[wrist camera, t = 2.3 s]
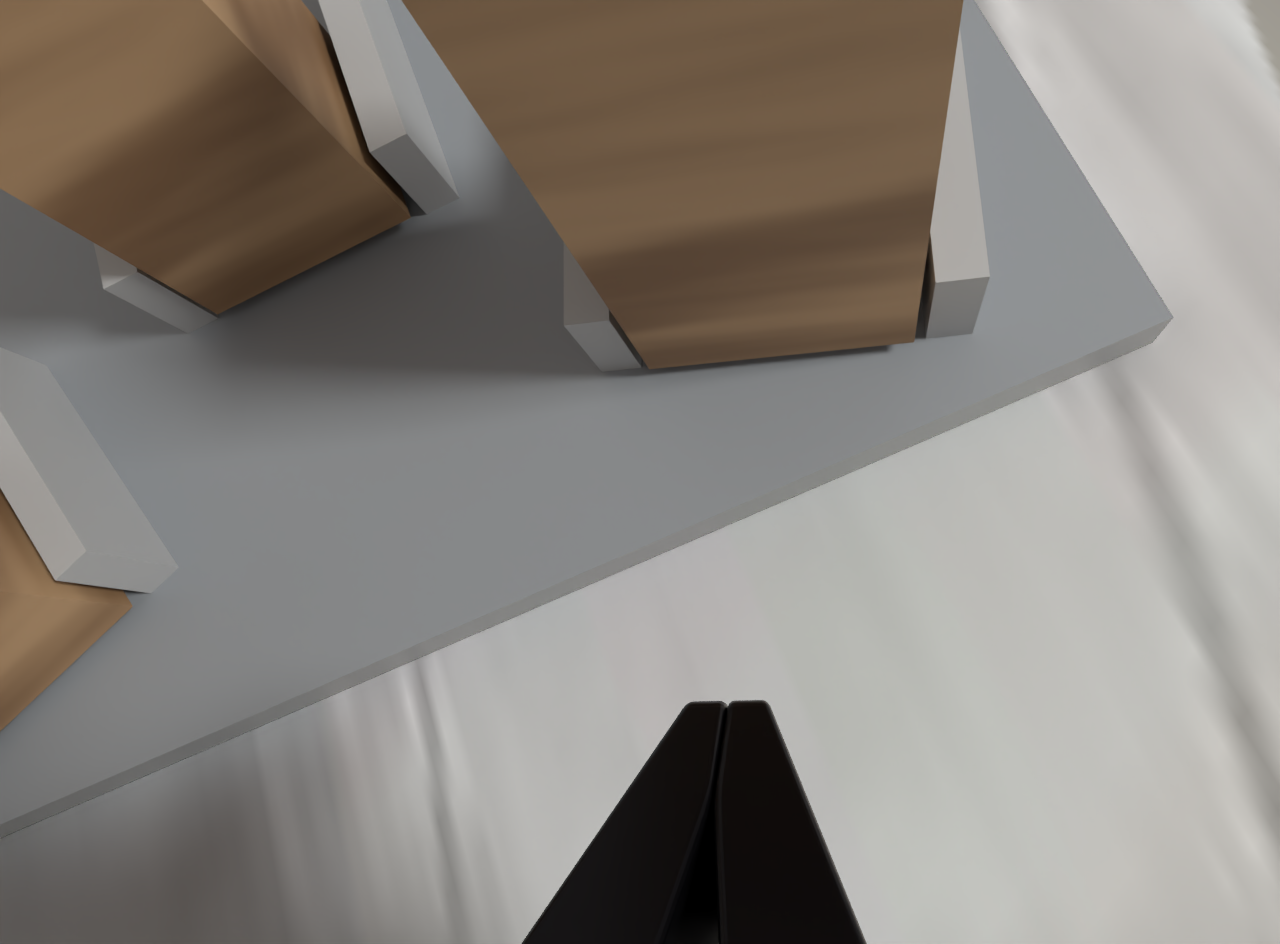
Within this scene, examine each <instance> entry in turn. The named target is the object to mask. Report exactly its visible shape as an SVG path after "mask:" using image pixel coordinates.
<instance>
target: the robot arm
mask: <svg viewBox="0 0 1280 944" xmlns="http://www.w3.org/2000/svg"><path fill="white" fill-rule="evenodd" d="M522 944H866V941H865V939H864V936H863V934H862V931H861V929H860V926H859V924H858V921H857V919H856V916H855V914H854V912H853V909H852V907H851V904H850V902H849V899H848V897H847V894H846V892H845V889H844V887H843V884H842V882H841V880H840V877H839V875H838V872H837V870H836V867H835V865H834V862H833V860H832V857H831V855H830V852H829V850H828V848H827V845H826V843H825V840H824V838H823V835H822V833H821V830H820V828H819V825H818V823H817V820H816V818H815V816H814V813H813V811H812V808H811V806H810V803H809V801H808V798H807V796H806V793H805V791H804V789H803V786H802V784H801V781H800V779H799V776H798V774H797V771H796V769H795V766H794V764H793V761H792V759H791V757H790V754H789V752H788V749H787V747H786V744H785V742H784V739H783V737H782V734H781V732H780V729H779V727H778V725H777V722H776V720H775V717H774V715H773V712H772V710H771V707H770V705H769V704H768V703H767V702H766V701H763V700H752V701H732V702H731V703H730V704H729V706H727V704H726V703H724V702H722V701H700V702H690V703H688V704H687V705H686V706H685V707H684V708H683V710H682V711H681V712H680V714H679V715H678V717H677V718H676V720H675V721H674V723H673V724H672V726H671V727H670V728H669V730H668V731H667V733H666V734H665V736H664V737H663V739H662V740H661V742H660V743H659V744H658V746H657V747H656V749H655V750H654V752H653V753H652V755H651V756H650V758H649V759H648V760H647V762H646V763H645V765H644V766H643V768H642V769H641V771H640V772H639V774H638V775H637V776H636V778H635V779H634V781H633V782H632V784H631V785H630V787H629V788H628V790H627V791H626V792H625V794H624V795H623V797H622V798H621V800H620V801H619V803H618V804H617V806H616V807H615V808H614V810H613V811H612V813H611V814H610V816H609V817H608V819H607V820H606V822H605V823H604V824H603V826H602V827H601V829H600V830H599V832H598V833H597V835H596V836H595V838H594V839H593V840H592V842H591V843H590V845H589V846H588V848H587V849H586V851H585V852H584V854H583V855H582V856H581V858H580V859H579V861H578V862H577V864H576V865H575V867H574V868H573V870H572V871H571V872H570V874H569V875H568V877H567V878H566V880H565V881H564V883H563V884H562V886H561V887H560V888H559V890H558V891H557V893H556V894H555V896H554V897H553V899H552V900H551V902H550V903H549V904H548V906H547V907H546V909H545V910H544V912H543V913H542V915H541V916H540V918H539V919H538V920H537V922H536V923H535V925H534V926H533V928H532V929H531V931H530V932H529V934H528V935H527V936H526V938H525V939H524V941H523V942H522Z"/></svg>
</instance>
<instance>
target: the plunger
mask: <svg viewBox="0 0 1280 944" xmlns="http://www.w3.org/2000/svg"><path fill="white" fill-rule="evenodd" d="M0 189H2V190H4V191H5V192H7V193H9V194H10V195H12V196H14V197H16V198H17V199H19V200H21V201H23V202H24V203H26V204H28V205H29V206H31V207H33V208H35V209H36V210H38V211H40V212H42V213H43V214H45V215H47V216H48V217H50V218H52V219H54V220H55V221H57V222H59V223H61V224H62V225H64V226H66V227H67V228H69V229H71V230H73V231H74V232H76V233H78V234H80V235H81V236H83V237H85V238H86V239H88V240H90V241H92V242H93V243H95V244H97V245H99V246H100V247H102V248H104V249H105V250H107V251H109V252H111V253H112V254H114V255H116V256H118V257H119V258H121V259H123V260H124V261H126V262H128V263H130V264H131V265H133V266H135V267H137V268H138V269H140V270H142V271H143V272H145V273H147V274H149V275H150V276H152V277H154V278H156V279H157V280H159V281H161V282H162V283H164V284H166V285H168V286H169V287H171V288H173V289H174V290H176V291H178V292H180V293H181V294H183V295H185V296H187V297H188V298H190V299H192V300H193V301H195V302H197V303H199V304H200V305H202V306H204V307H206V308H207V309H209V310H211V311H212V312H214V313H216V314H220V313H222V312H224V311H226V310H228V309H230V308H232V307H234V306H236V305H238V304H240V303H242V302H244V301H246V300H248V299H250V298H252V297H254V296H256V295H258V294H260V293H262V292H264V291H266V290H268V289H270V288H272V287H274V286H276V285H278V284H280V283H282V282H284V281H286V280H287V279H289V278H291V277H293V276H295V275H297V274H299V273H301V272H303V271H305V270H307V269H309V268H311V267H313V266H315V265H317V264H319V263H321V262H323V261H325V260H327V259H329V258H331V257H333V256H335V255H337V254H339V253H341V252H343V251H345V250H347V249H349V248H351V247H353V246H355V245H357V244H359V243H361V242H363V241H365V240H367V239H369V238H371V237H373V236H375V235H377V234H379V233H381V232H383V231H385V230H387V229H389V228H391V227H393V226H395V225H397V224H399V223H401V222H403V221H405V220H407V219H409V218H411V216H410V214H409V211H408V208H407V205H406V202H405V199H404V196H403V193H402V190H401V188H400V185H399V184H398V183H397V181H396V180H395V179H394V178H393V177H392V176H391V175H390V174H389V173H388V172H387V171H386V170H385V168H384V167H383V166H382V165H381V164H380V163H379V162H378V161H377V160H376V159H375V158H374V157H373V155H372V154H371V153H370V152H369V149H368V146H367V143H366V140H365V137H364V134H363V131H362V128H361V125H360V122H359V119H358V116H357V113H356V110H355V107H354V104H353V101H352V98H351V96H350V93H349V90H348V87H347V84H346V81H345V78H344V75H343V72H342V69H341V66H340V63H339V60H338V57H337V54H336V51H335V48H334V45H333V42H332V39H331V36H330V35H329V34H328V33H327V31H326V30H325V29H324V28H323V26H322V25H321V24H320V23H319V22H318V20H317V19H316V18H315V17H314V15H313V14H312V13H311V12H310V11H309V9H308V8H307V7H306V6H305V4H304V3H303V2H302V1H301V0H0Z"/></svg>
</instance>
